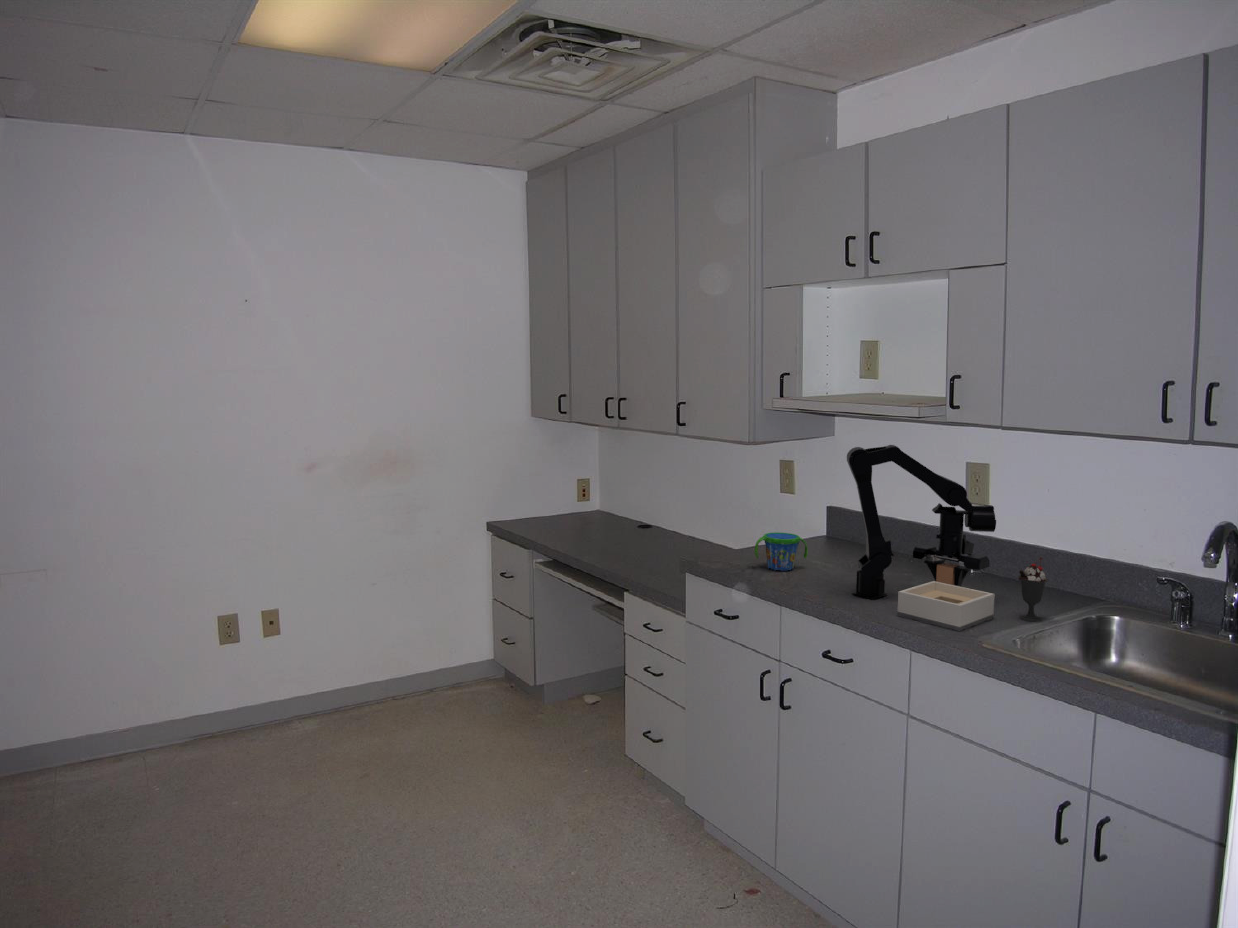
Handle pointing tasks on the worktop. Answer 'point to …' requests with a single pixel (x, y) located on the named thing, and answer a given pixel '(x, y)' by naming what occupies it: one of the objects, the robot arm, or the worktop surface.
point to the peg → (946, 573)
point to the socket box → (946, 605)
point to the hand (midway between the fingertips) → (948, 589)
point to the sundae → (1032, 589)
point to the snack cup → (781, 550)
